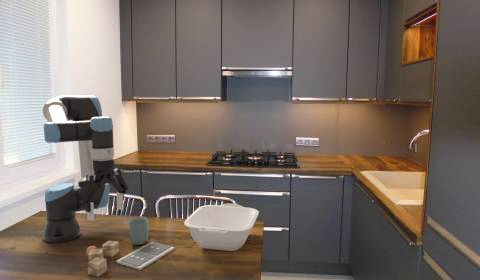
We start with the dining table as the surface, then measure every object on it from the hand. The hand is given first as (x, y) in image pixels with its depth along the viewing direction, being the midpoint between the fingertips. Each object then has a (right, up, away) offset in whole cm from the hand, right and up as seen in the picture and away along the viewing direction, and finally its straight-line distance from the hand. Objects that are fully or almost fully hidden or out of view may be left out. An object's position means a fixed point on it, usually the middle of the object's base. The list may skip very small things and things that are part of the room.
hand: (106, 214), depth 134 cm
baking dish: (+43, -17, +20) cm, 50 cm away
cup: (+7, -17, +20) cm, 27 cm away
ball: (-9, -18, +8) cm, 22 cm away
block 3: (-2, -18, +10) cm, 21 cm away
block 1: (-5, -19, +3) cm, 20 cm away
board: (+13, -18, +8) cm, 24 cm away
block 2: (-1, -16, -5) cm, 17 cm away
